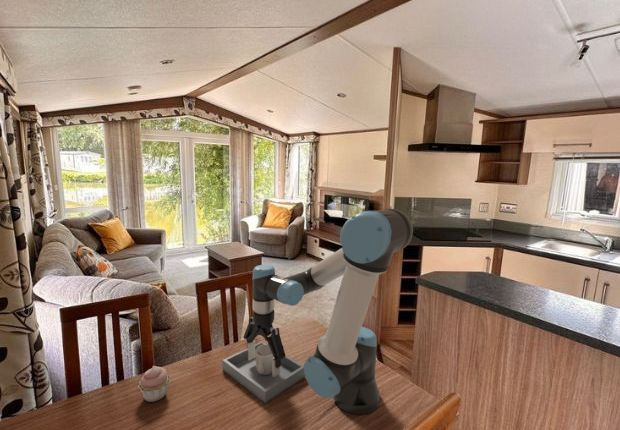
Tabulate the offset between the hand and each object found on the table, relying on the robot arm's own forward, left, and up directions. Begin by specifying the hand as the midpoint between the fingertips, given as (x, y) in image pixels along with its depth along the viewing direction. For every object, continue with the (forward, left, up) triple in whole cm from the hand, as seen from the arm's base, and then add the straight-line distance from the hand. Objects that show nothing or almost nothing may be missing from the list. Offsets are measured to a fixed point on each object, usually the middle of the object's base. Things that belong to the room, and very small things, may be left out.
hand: (263, 366), depth 112 cm
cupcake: (+16, +31, -3) cm, 35 cm away
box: (0, 0, -3) cm, 3 cm away
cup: (-1, 0, -2) cm, 2 cm away
